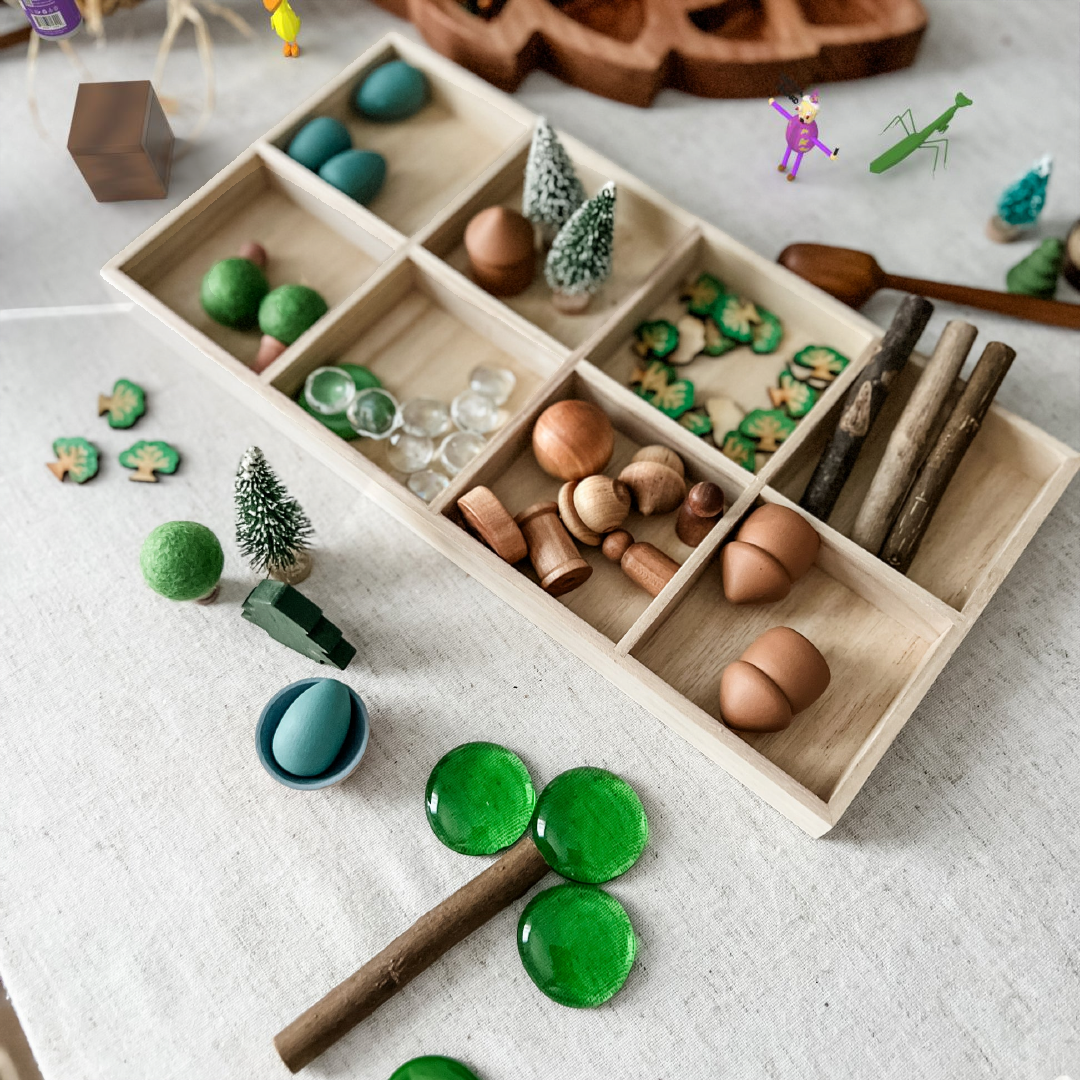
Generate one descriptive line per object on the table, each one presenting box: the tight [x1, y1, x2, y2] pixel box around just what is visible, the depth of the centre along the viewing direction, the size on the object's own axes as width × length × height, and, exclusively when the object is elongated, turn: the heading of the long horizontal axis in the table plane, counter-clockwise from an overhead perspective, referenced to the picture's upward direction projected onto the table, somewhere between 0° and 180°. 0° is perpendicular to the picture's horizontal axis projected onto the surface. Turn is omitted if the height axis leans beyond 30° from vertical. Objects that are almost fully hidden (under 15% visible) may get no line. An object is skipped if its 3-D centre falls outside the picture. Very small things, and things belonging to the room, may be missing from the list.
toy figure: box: [262, 0, 302, 58], centre depth 114 cm, size 7×4×12 cm, turn 176°
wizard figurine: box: [768, 72, 841, 182], centre depth 106 cm, size 11×3×12 cm, turn 35°
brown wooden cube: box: [66, 79, 175, 203], centre depth 108 cm, size 8×10×8 cm
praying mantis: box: [869, 91, 974, 179], centre depth 111 cm, size 9×15×4 cm, turn 127°
